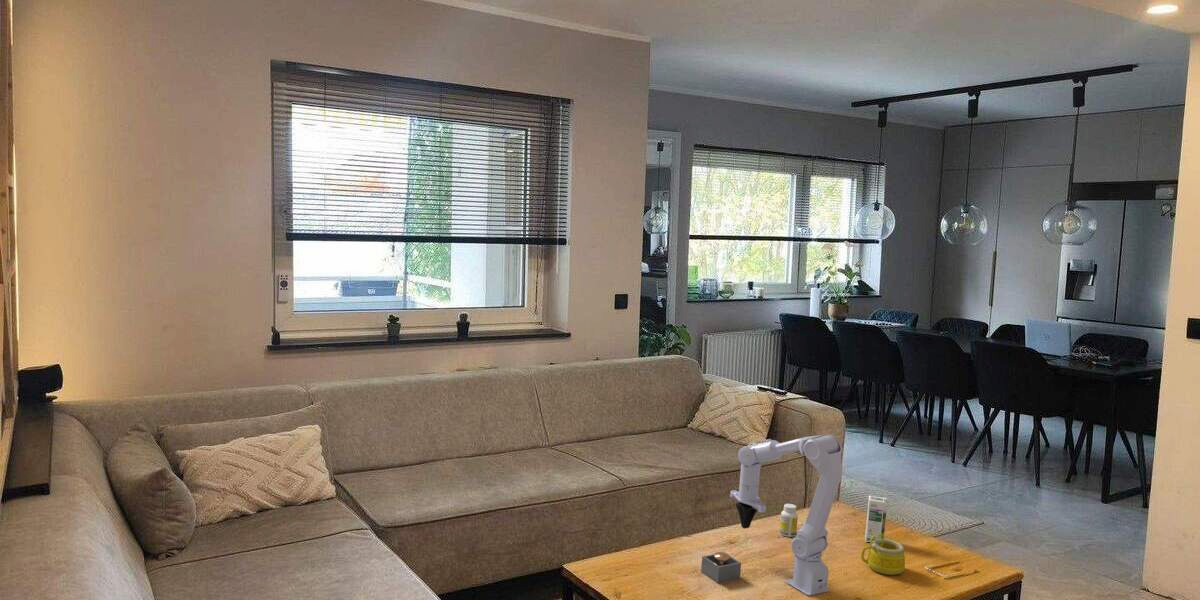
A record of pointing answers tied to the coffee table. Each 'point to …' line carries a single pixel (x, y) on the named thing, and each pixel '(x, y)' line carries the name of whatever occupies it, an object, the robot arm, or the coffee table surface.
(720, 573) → the open grey square tray
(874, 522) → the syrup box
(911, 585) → the coffee table surface
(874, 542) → the mug
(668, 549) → the coffee table surface
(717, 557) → the plunger
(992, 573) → the coffee table surface
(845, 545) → the coffee table surface
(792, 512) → the supplement bottle
